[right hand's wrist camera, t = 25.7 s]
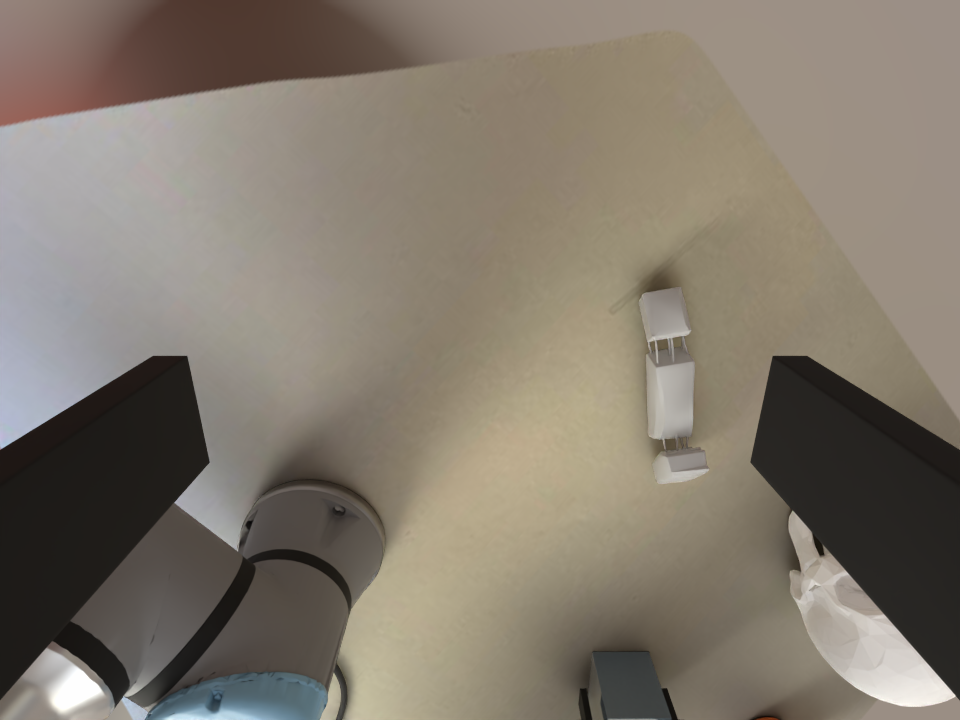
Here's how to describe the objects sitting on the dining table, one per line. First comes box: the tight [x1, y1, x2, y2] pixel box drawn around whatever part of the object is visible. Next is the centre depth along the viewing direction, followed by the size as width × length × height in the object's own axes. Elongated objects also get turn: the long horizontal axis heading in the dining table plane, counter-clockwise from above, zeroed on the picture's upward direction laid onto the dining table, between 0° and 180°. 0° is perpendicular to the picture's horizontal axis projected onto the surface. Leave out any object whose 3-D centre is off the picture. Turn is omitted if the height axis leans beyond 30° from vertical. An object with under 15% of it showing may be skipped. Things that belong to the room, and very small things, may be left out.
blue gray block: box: [588, 652, 672, 720], centre depth 63 cm, size 7×9×8 cm
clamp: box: [639, 287, 709, 484], centre depth 50 cm, size 20×4×7 cm, turn 10°
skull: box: [788, 511, 955, 707], centre depth 52 cm, size 13×22×16 cm, turn 22°
